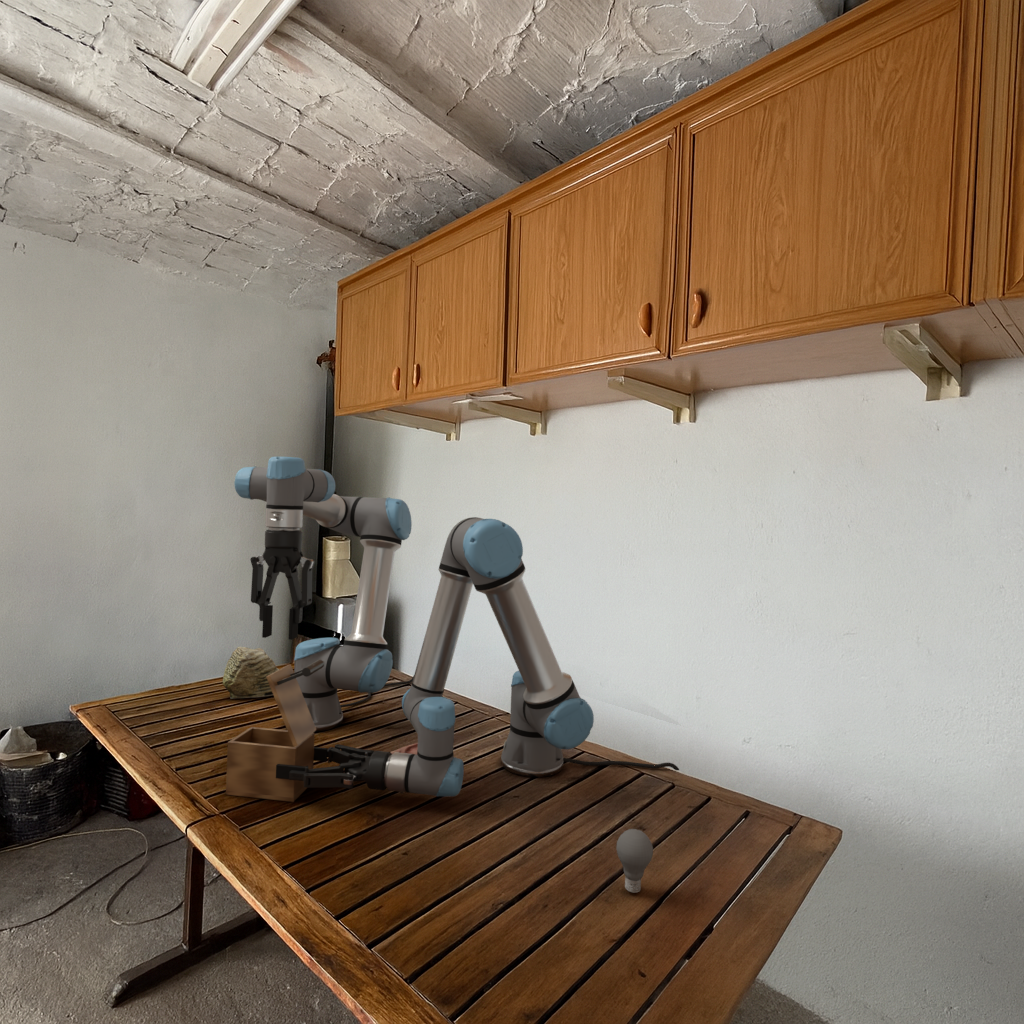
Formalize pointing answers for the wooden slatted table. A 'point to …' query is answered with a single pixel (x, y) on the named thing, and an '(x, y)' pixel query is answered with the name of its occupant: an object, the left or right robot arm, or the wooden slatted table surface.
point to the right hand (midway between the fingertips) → (288, 761)
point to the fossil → (248, 673)
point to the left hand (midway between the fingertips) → (280, 637)
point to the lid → (293, 700)
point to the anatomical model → (408, 749)
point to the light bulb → (634, 857)
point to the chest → (266, 764)
